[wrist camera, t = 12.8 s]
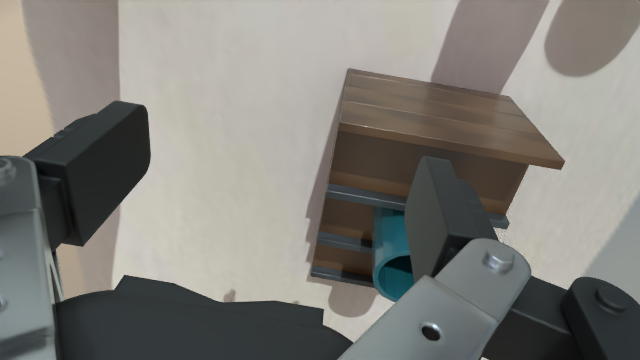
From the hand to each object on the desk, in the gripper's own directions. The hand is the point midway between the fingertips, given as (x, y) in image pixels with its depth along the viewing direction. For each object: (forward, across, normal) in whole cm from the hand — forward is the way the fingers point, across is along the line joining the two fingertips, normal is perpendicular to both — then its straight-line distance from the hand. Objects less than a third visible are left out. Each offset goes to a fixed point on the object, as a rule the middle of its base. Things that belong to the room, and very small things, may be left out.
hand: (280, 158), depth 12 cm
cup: (+22, -10, +16) cm, 29 cm away
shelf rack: (+27, -10, +17) cm, 33 cm away
